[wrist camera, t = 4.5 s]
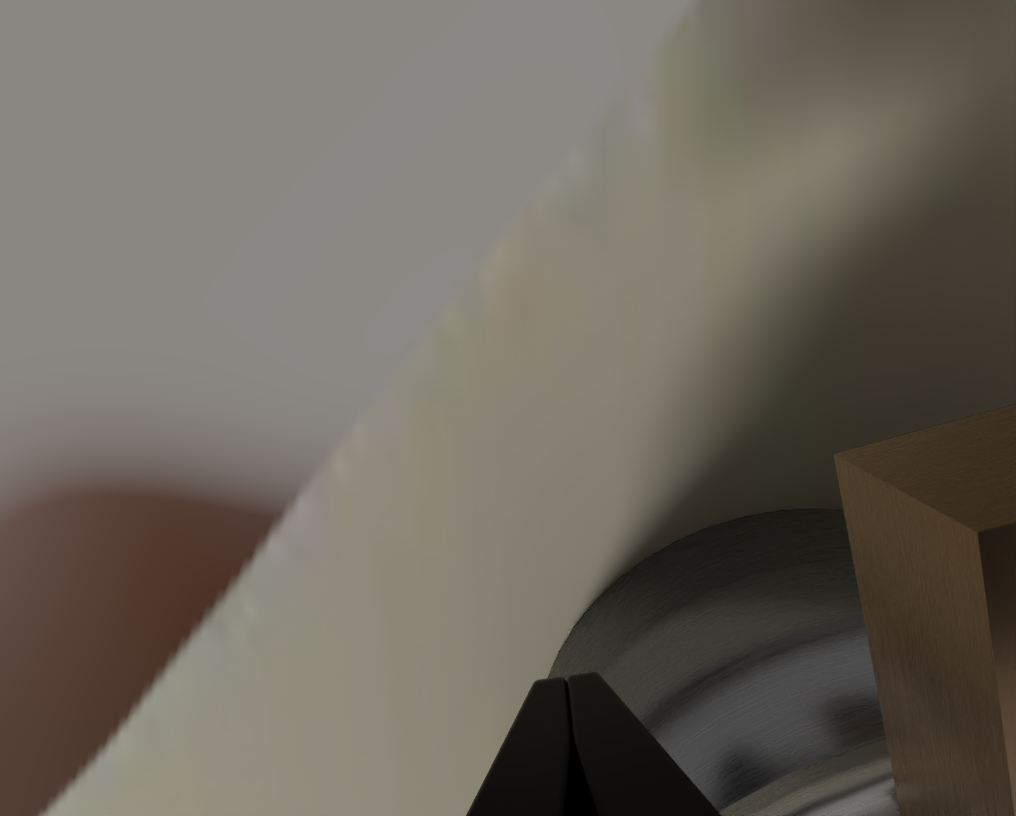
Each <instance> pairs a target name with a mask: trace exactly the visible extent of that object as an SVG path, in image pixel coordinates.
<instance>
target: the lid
mask: <svg viewBox="0 0 1016 816" xmlns="http://www.w3.org/2000/svg"><path fill="white" fill-rule="evenodd" d="M833 456H834V461H835V466H836V472H837V477H838V483H839V488H840V493H841V499H842V504H843V509H844V515H845V520H846V526H847V531H848V536H849V542H850V547H851V552H852V558H853V563H854V569H855V574H856V579H857V585H858V590H859V595H860V601H861V606H862V611H863V617H864V622H865V628H866V633H867V638H868V644H869V649H870V654H871V660H872V665H873V671H874V676H875V681H876V687H877V692H878V697H879V703H880V708H881V714H882V719H883V724H884V730H885V735H886V736H883V737H880V738H876V739H873V740H869V741H866V742H863V743H861V744H859V745H856V746H854V747H851V748H849V749H846V750H844V751H841V752H839V753H837V754H834V755H832V756H829V757H827V758H824V759H822V760H819V761H817V762H815V763H812V764H810V765H807V766H805V767H802V768H800V769H797V770H795V771H793V772H791V773H789V774H787V775H785V776H783V777H782V778H780V779H778V780H776V781H774V782H772V783H771V784H769V785H767V786H765V787H763V788H761V789H759V790H758V791H756V792H754V793H752V794H750V795H748V796H746V797H745V798H743V799H741V800H739V801H737V802H735V803H734V804H732V805H730V806H728V807H727V808H725V809H724V810H722V811H721V812H719V813H720V814H721V815H722V816H1016V404H1014V405H1010V406H1007V407H1003V408H1000V409H996V410H992V411H989V412H985V413H981V414H978V415H974V416H970V417H967V418H963V419H959V420H956V421H952V422H949V423H945V424H941V425H938V426H934V427H930V428H927V429H923V430H919V431H916V432H912V433H908V434H905V435H901V436H897V437H894V438H890V439H887V440H883V441H879V442H876V443H872V444H868V445H865V446H861V447H857V448H854V449H850V450H846V451H843V452H839V453H836V454H833Z"/></svg>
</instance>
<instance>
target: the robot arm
mask: <svg viewBox="0 0 1016 816" xmlns="http://www.w3.org/2000/svg"><path fill="white" fill-rule="evenodd" d="M466 816H722V815H721V814H720V813H719V812H718V811H717V810H716V808H715V807H714V806H713V805H712V804H711V803H710V801H709V800H708V799H707V798H706V797H705V796H704V795H703V793H702V792H701V791H700V790H699V789H698V788H697V786H696V785H695V784H694V783H693V782H692V781H691V779H690V778H689V777H688V776H687V775H686V774H685V773H684V771H683V770H682V769H681V768H680V767H679V766H678V764H677V763H676V762H675V761H674V760H673V759H672V758H671V756H670V755H669V754H668V753H667V752H666V751H665V749H664V748H663V747H662V746H661V745H660V744H659V742H658V741H657V740H656V739H655V738H654V737H653V736H652V734H651V733H650V732H649V731H648V730H647V729H646V727H645V726H644V725H643V724H642V723H641V722H640V721H639V719H638V718H637V717H636V716H635V715H634V714H633V712H632V711H631V710H630V709H629V708H628V707H627V705H626V704H625V703H624V702H623V701H622V700H621V699H620V697H619V696H618V695H617V694H616V693H615V692H614V690H613V689H612V688H611V687H610V686H609V685H608V684H607V682H606V681H605V680H604V679H603V678H602V677H601V676H600V674H598V673H597V672H594V671H592V672H585V673H579V674H573V675H570V676H569V677H568V678H567V682H566V680H565V678H563V677H554V678H547V679H541V680H537V681H535V682H534V683H533V685H532V687H531V689H530V691H529V693H528V695H527V697H526V699H525V701H524V703H523V705H522V707H521V709H520V711H519V713H518V715H517V717H516V719H515V721H514V723H513V725H512V726H511V728H510V730H509V732H508V734H507V736H506V738H505V740H504V742H503V744H502V746H501V748H500V750H499V752H498V754H497V756H496V758H495V760H494V762H493V764H492V766H491V768H490V770H489V772H488V774H487V776H486V778H485V780H484V782H483V784H482V786H481V788H480V789H479V791H478V793H477V795H476V797H475V799H474V801H473V803H472V805H471V807H470V809H469V811H468V813H467V815H466Z"/></svg>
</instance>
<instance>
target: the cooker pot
mask: <svg viewBox="0 0 1016 816" xmlns="http://www.w3.org/2000/svg"><path fill="white" fill-rule="evenodd" d="M592 671H594V672H597V673H598V674H600V676H601V677H602V678H603V679H604V680H605V681H606V682H607V684H608V685H609V686H610V687H611V688H612V689H613V690H614V692H615V693H616V694H617V695H618V696H619V697H620V699H621V700H622V701H623V702H624V703H625V704H626V705H627V707H628V708H629V709H630V710H631V711H632V712H633V714H634V715H635V716H636V717H637V718H638V719H639V721H640V722H641V723H642V724H643V725H644V726H645V727H646V729H647V730H648V731H649V732H650V733H651V734H652V736H653V737H654V738H655V739H656V740H657V741H658V742H659V744H660V745H661V746H662V747H663V748H664V749H665V751H666V752H667V753H668V754H669V755H670V756H671V758H672V759H673V760H674V761H675V762H676V763H677V764H678V766H679V767H680V768H681V769H682V770H683V771H684V773H685V774H686V775H687V776H688V777H689V778H690V779H691V781H692V782H693V783H694V784H695V785H696V786H697V788H698V789H699V790H700V791H701V792H702V793H703V795H704V796H705V797H706V798H707V799H708V800H709V801H710V803H711V804H712V805H713V806H714V807H715V808H716V810H717V811H718V812H721V811H722V810H724V809H725V808H727V807H728V806H730V805H732V804H734V803H735V802H737V801H739V800H741V799H743V798H745V797H746V796H748V795H750V794H752V793H754V792H756V791H758V790H759V789H761V788H763V787H765V786H767V785H769V784H771V783H772V782H774V781H776V780H778V779H780V778H782V777H783V776H785V775H787V774H789V773H791V772H793V771H795V770H797V769H800V768H802V767H805V766H807V765H810V764H812V763H815V762H817V761H819V760H822V759H824V758H827V757H829V756H832V755H834V754H837V753H839V752H841V751H844V750H846V749H849V748H851V747H854V746H856V745H859V744H861V743H863V742H866V741H869V740H873V739H876V738H880V737H883V736H886V735H885V730H884V724H883V719H882V714H881V708H880V703H879V697H878V692H877V687H876V681H875V676H874V671H873V665H872V660H871V654H870V649H869V644H868V638H867V633H866V628H865V622H864V617H863V611H862V606H861V601H860V595H859V590H858V585H857V579H856V574H855V569H854V563H853V558H852V552H851V547H850V542H849V536H848V531H847V526H846V520H845V515H844V511H842V510H828V509H803V510H782V511H776V512H770V513H764V514H758V515H752V516H746V517H742V518H739V519H736V520H732V521H729V522H725V523H722V524H718V525H715V526H711V527H709V528H706V529H704V530H702V531H699V532H697V533H695V534H692V535H690V536H687V537H685V538H683V539H680V540H678V541H676V542H674V543H673V544H671V545H669V546H667V547H666V548H664V549H662V550H660V551H659V552H657V553H655V554H653V555H652V556H650V557H648V558H646V559H645V560H644V561H642V562H641V563H640V564H638V565H637V566H635V567H634V568H633V569H631V570H630V571H629V572H627V573H626V574H625V575H623V576H622V577H621V578H619V579H618V580H617V581H616V582H615V583H614V584H613V585H612V586H611V587H610V588H609V589H608V590H607V591H606V592H605V593H603V594H602V595H601V596H600V597H599V598H598V599H597V600H596V601H595V602H594V603H593V604H592V606H591V607H590V608H589V609H588V611H587V612H586V613H585V614H584V616H583V617H582V618H581V619H580V621H579V622H578V623H577V624H576V626H575V627H574V628H573V630H572V632H571V633H570V635H569V637H568V638H567V640H566V642H565V643H564V645H563V647H562V648H561V650H560V652H559V653H558V655H557V657H556V660H555V662H554V664H553V667H552V669H551V671H550V674H549V676H548V678H554V677H563V678H565V680H566V682H567V678H568V677H569V676H570V675H573V674H579V673H585V672H592Z"/></svg>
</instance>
